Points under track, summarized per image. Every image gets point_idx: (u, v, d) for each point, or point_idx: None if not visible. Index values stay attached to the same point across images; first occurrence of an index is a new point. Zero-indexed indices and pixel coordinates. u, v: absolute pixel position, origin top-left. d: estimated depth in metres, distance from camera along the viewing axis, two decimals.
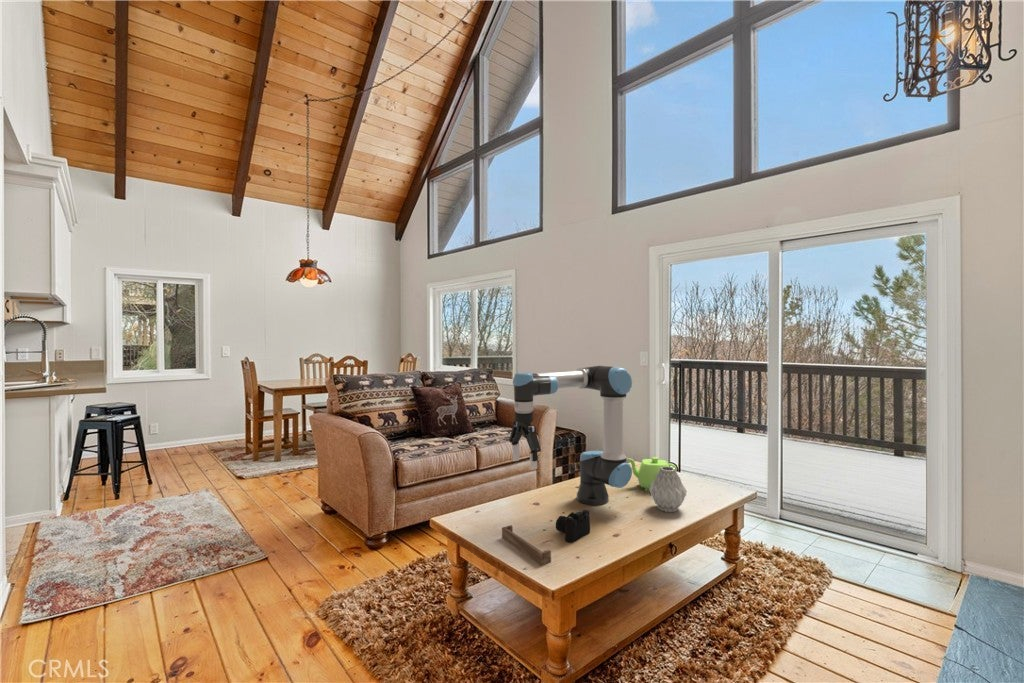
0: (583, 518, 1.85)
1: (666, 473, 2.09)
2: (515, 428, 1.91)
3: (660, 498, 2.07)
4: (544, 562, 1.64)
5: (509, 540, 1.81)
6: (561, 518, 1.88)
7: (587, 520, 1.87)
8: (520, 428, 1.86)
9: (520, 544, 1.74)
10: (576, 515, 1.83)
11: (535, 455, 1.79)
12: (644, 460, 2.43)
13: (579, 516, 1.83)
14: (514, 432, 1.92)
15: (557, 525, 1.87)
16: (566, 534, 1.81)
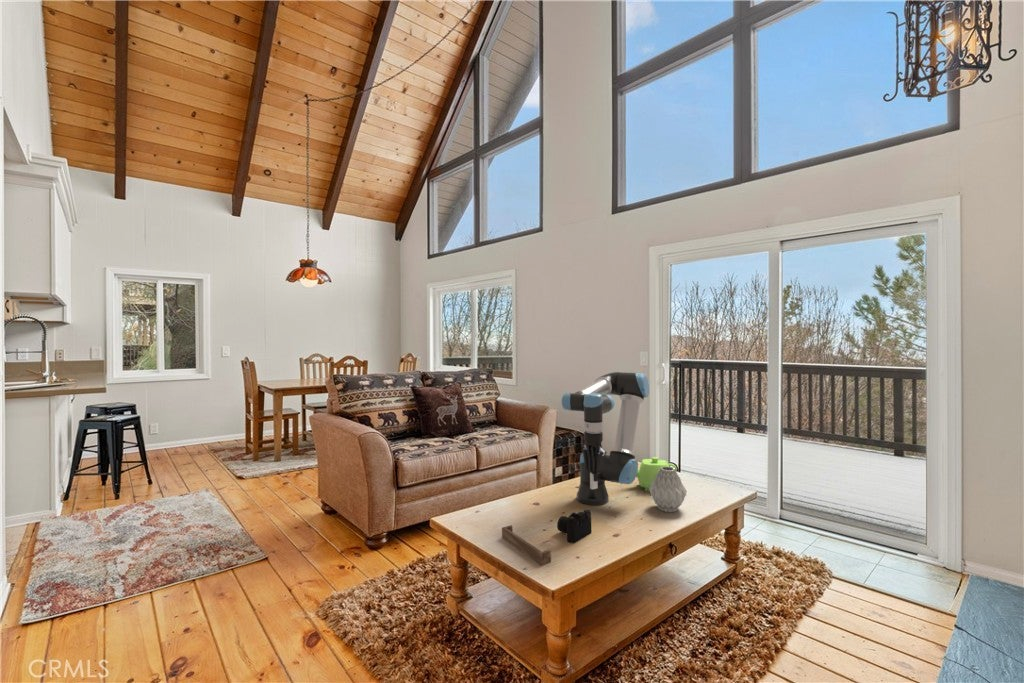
0: (585, 518, 1.85)
1: (666, 473, 2.09)
2: (586, 451, 1.96)
3: (660, 498, 2.07)
4: (544, 562, 1.64)
5: (509, 540, 1.81)
6: (563, 518, 1.88)
7: (589, 520, 1.87)
8: (590, 446, 1.93)
9: (520, 544, 1.74)
10: (578, 515, 1.83)
11: (596, 476, 1.92)
12: (644, 460, 2.43)
13: (581, 516, 1.83)
14: (586, 456, 1.96)
15: (559, 525, 1.87)
16: (568, 534, 1.80)
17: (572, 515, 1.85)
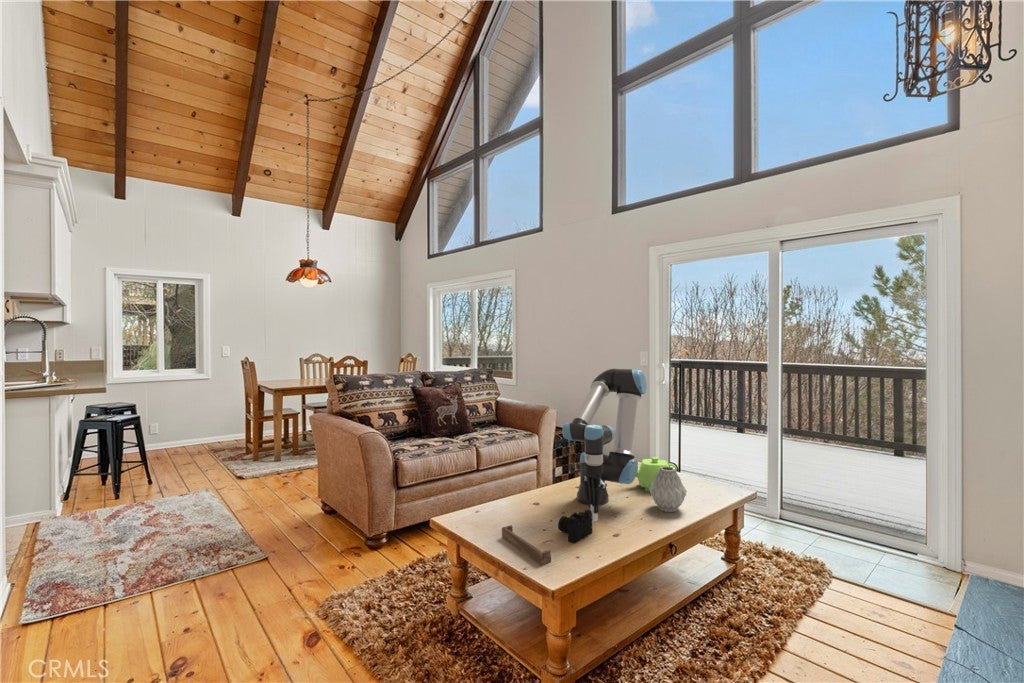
0: (586, 518, 1.85)
1: (666, 473, 2.09)
2: (586, 483, 1.97)
3: (660, 498, 2.07)
4: (544, 562, 1.64)
5: (509, 540, 1.81)
6: (563, 518, 1.88)
7: (589, 520, 1.87)
8: (590, 478, 1.93)
9: (520, 544, 1.74)
10: (579, 515, 1.83)
11: (597, 508, 1.92)
12: (644, 460, 2.43)
13: (582, 516, 1.83)
14: (587, 488, 1.96)
15: (559, 525, 1.87)
16: (569, 534, 1.80)
17: (573, 515, 1.84)
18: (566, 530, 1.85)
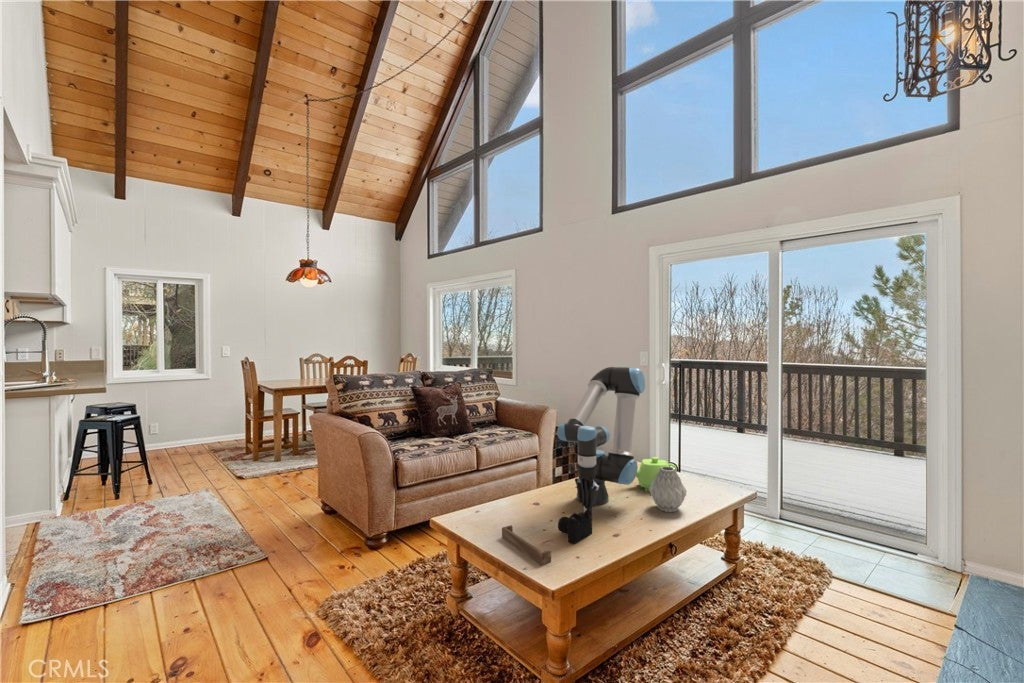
0: (586, 519, 1.84)
1: (666, 473, 2.09)
2: (579, 484, 1.95)
3: (660, 498, 2.07)
4: (544, 562, 1.64)
5: (509, 540, 1.81)
6: (563, 519, 1.87)
7: (589, 521, 1.86)
8: (583, 480, 1.91)
9: (520, 544, 1.74)
10: (579, 516, 1.82)
11: (590, 510, 1.90)
12: (644, 460, 2.43)
13: (582, 517, 1.82)
14: (580, 489, 1.94)
15: (559, 526, 1.86)
16: (569, 535, 1.80)
17: (573, 515, 1.84)
18: (566, 530, 1.84)
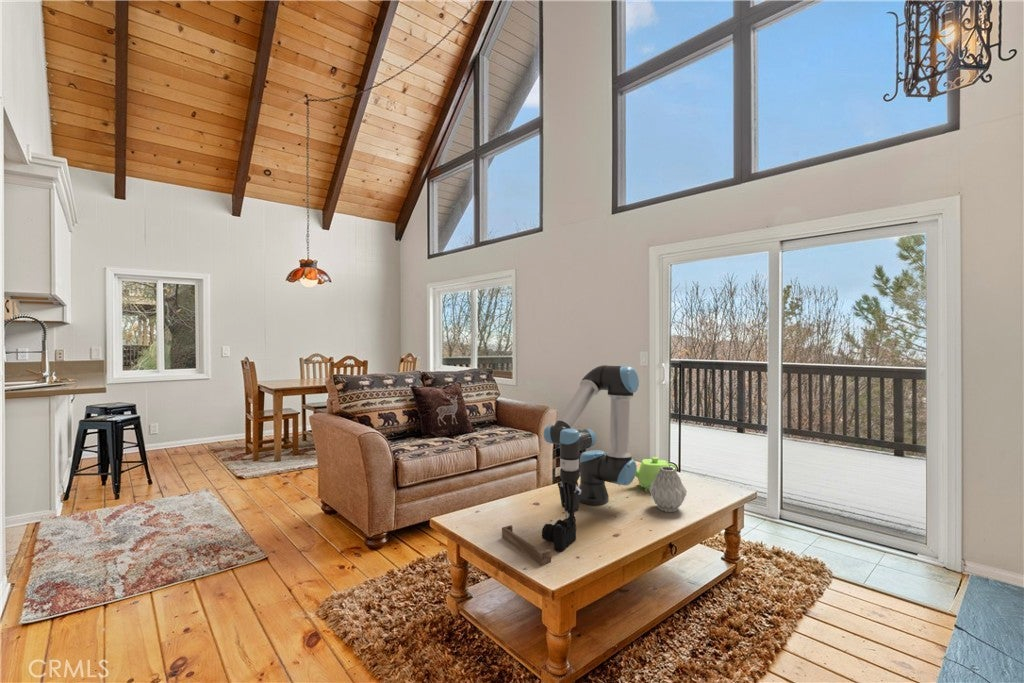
0: (571, 525, 1.79)
1: (666, 473, 2.09)
2: (562, 489, 1.90)
3: (660, 498, 2.07)
4: (544, 562, 1.64)
5: (509, 540, 1.81)
6: (547, 526, 1.80)
7: (574, 526, 1.81)
8: (566, 484, 1.86)
9: (520, 544, 1.74)
10: (564, 522, 1.76)
11: (572, 515, 1.85)
12: (644, 460, 2.43)
13: (567, 523, 1.76)
14: (563, 494, 1.89)
15: (544, 534, 1.79)
16: (555, 543, 1.73)
17: (558, 522, 1.77)
18: (551, 538, 1.77)
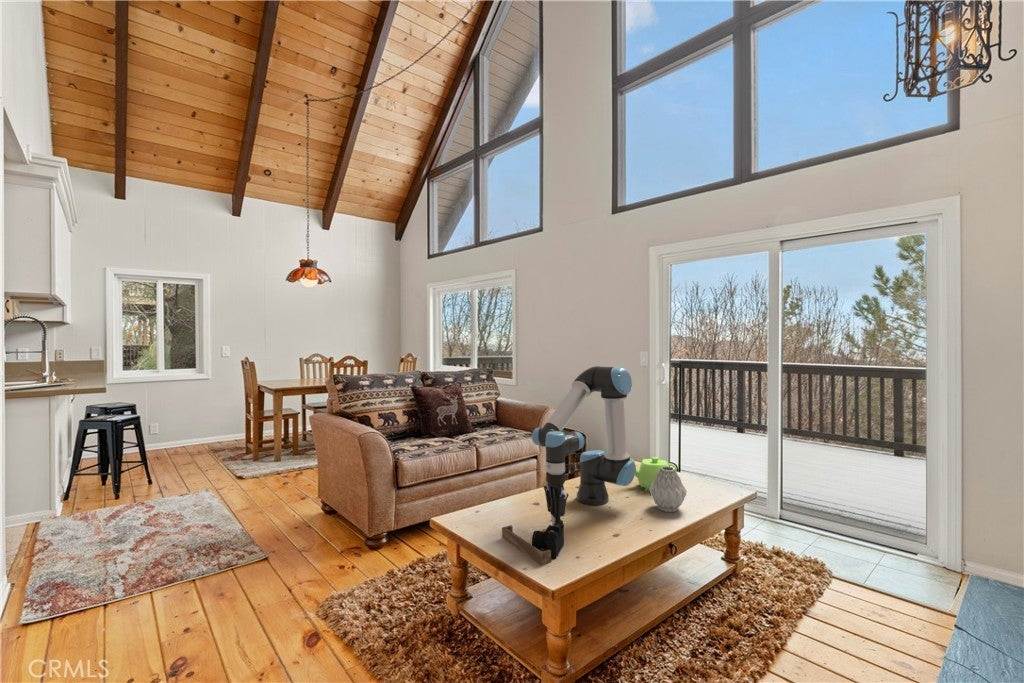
0: (560, 529, 1.75)
1: (666, 473, 2.09)
2: (548, 492, 1.86)
3: (660, 498, 2.07)
4: (544, 562, 1.64)
5: (509, 540, 1.81)
6: (537, 533, 1.74)
7: (562, 531, 1.77)
8: (552, 488, 1.83)
9: (520, 544, 1.74)
10: (556, 527, 1.72)
11: (558, 519, 1.81)
12: (644, 460, 2.43)
13: (559, 528, 1.72)
14: (549, 497, 1.86)
15: (534, 541, 1.73)
16: None
17: (549, 528, 1.72)
18: (542, 545, 1.71)
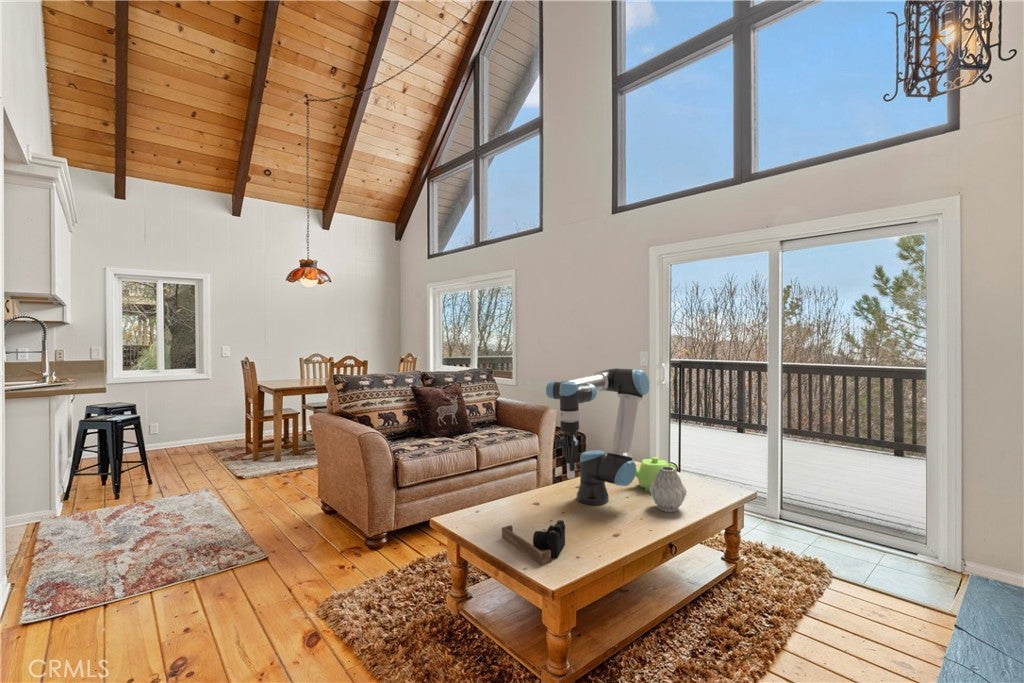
0: (562, 530, 1.75)
1: (666, 473, 2.09)
2: None
3: (660, 498, 2.07)
4: (544, 562, 1.64)
5: (509, 540, 1.81)
6: (538, 533, 1.74)
7: (564, 531, 1.77)
8: (566, 435, 1.90)
9: (520, 544, 1.74)
10: (557, 528, 1.72)
11: (572, 465, 1.89)
12: (644, 460, 2.43)
13: (560, 528, 1.72)
14: (565, 445, 1.94)
15: (535, 542, 1.73)
16: (551, 550, 1.68)
17: (550, 528, 1.72)
18: (544, 546, 1.71)
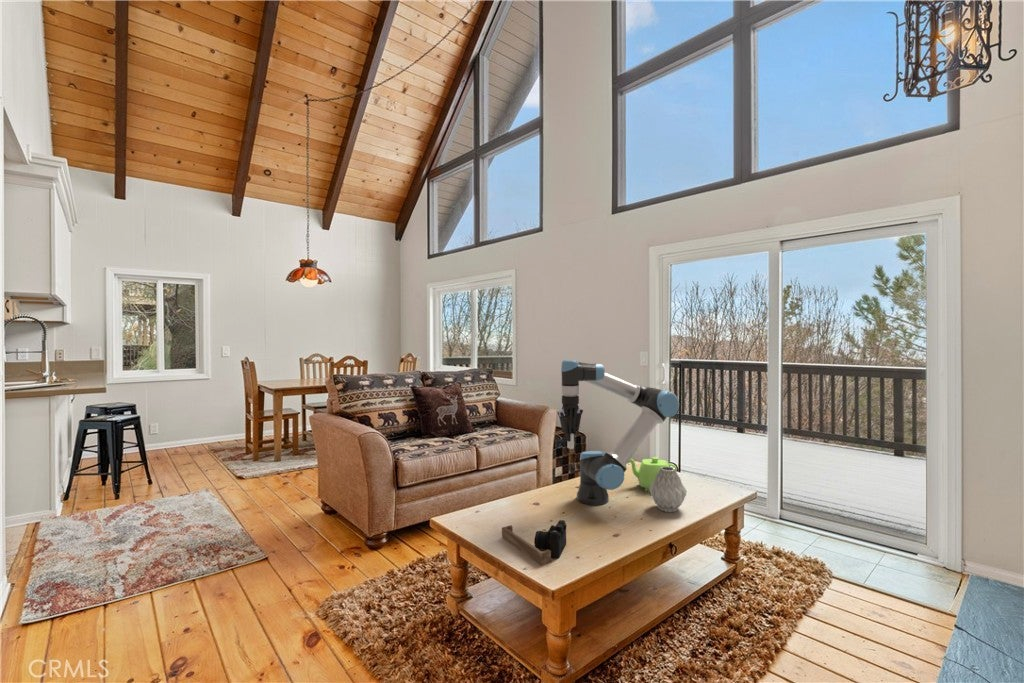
0: None
1: (666, 473, 2.09)
2: (576, 414, 2.09)
3: (660, 498, 2.07)
4: (544, 562, 1.64)
5: (509, 540, 1.81)
6: (540, 533, 1.74)
7: (565, 531, 1.77)
8: None
9: (520, 544, 1.74)
10: (559, 528, 1.72)
11: (567, 436, 2.06)
12: (644, 460, 2.43)
13: (562, 528, 1.72)
14: None
15: (537, 542, 1.73)
16: (552, 550, 1.68)
17: (552, 528, 1.72)
18: (545, 546, 1.71)
